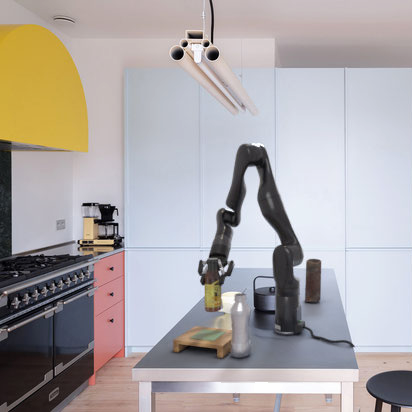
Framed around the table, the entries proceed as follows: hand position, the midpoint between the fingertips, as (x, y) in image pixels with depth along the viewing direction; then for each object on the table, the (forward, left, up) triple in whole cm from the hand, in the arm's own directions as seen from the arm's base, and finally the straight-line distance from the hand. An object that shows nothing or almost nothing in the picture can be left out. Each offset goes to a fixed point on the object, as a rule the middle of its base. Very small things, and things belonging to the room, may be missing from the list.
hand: (211, 284), depth 156 cm
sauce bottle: (0, -2, -11) cm, 11 cm away
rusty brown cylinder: (-27, -49, -18) cm, 58 cm away
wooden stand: (-7, +14, -18) cm, 24 cm away
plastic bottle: (-20, +18, -18) cm, 33 cm away
